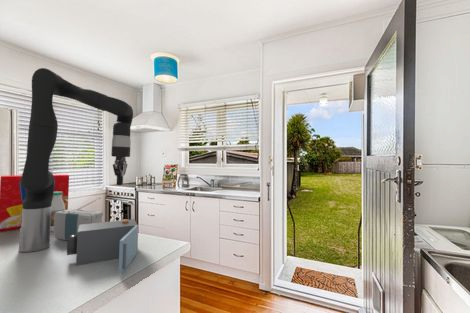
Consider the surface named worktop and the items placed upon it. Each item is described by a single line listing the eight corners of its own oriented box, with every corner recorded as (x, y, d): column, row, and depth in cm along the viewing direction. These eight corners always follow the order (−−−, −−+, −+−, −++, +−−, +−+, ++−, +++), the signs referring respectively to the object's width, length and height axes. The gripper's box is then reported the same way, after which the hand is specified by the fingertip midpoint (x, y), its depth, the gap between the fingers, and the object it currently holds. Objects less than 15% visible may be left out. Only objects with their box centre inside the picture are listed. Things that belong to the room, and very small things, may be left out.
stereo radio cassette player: (52, 240, 104) (54, 197, 104) (69, 234, 112) (70, 194, 112) (88, 245, 99) (90, 200, 99) (103, 239, 107) (105, 197, 107)
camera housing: (65, 267, 79) (67, 230, 79) (69, 256, 87) (70, 223, 88) (136, 254, 91) (137, 222, 91) (133, 246, 99) (134, 216, 100)
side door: (124, 274, 73) (125, 240, 74) (117, 274, 73) (119, 240, 73) (139, 252, 90) (140, 225, 91) (134, 252, 90) (135, 225, 90)
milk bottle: (48, 228, 121) (50, 191, 121) (66, 226, 124) (67, 190, 125) (43, 232, 114) (45, 193, 114) (62, 230, 117) (64, 192, 118)
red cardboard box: (-3, 232, 112) (0, 176, 113) (-1, 228, 118) (1, 175, 119) (67, 223, 132) (69, 175, 132) (65, 220, 137) (67, 174, 138)
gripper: (125, 145, 95) (124, 186, 94) (133, 147, 108) (132, 183, 107) (106, 144, 93) (104, 186, 93) (117, 146, 106) (115, 183, 106)
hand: (119, 184), depth 100 cm, fingers closed
